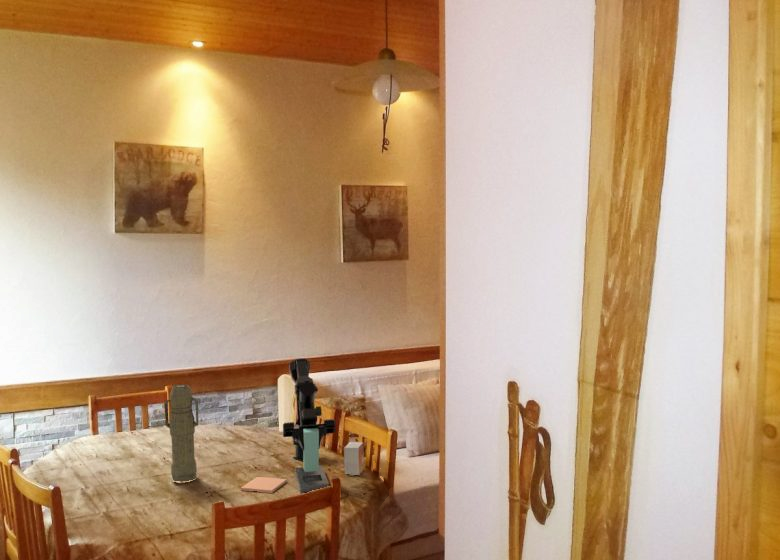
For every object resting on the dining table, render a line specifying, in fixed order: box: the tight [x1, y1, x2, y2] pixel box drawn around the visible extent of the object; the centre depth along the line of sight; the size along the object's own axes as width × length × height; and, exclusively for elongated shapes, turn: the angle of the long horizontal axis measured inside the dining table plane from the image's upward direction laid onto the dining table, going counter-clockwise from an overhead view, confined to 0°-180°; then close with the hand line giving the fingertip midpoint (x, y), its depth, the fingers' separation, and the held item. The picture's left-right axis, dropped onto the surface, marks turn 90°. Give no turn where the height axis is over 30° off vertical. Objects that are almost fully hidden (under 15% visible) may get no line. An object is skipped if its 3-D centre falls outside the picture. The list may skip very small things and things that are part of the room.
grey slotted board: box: [294, 465, 330, 494], centre depth 253 cm, size 21×10×2 cm, turn 13°
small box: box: [343, 441, 365, 476], centre depth 263 cm, size 8×6×10 cm
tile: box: [240, 476, 288, 494], centre depth 250 cm, size 12×12×1 cm
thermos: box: [163, 384, 199, 482], centre depth 259 cm, size 9×12×35 cm
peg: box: [302, 428, 320, 472], centre depth 249 cm, size 5×5×14 cm
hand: (311, 449), depth 248 cm, fingers closed on peg, 5 cm apart
